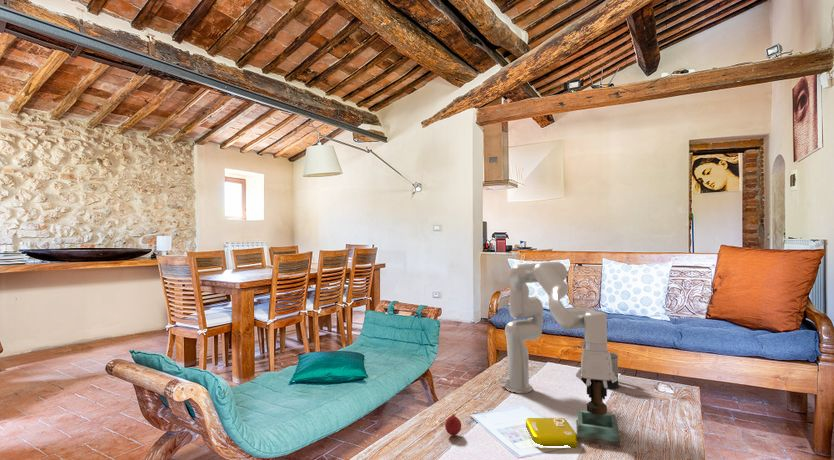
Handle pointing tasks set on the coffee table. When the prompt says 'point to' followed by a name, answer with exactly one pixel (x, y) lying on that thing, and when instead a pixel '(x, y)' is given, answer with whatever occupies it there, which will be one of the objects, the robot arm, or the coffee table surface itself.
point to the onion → (453, 425)
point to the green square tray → (598, 429)
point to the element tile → (551, 432)
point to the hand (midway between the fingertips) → (596, 396)
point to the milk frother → (614, 370)
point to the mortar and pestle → (596, 399)
